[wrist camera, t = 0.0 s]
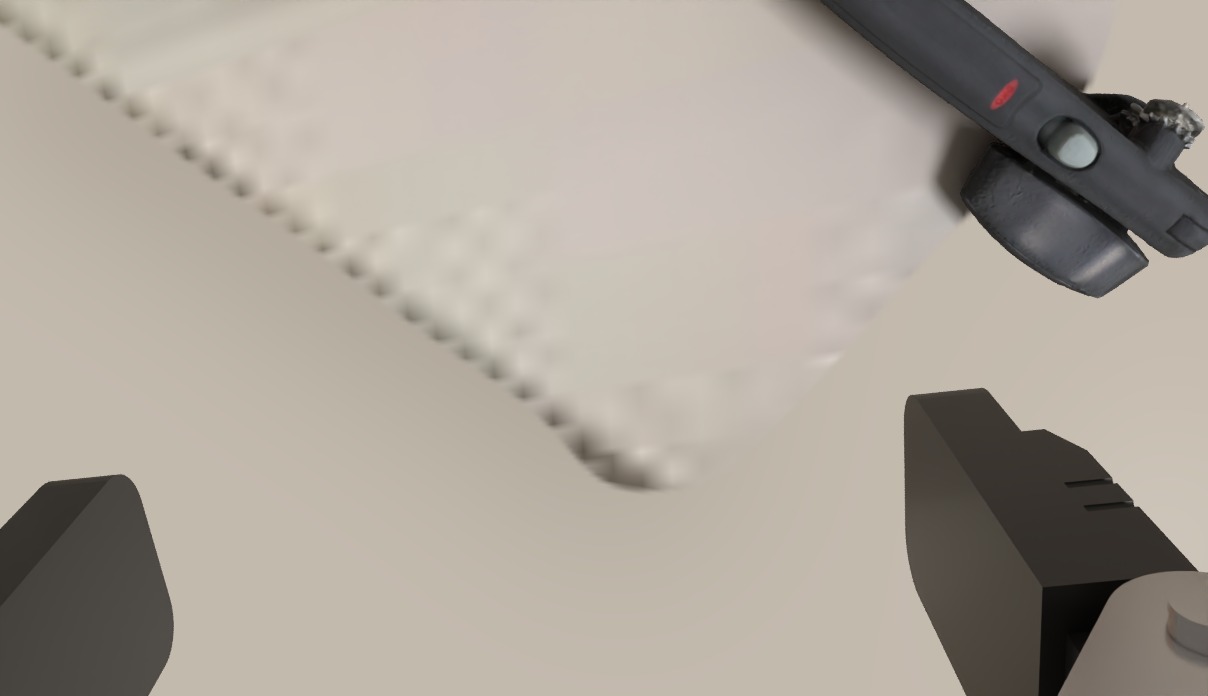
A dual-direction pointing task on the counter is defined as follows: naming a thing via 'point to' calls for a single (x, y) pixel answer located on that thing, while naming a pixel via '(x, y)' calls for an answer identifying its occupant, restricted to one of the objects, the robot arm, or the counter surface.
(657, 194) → the counter surface
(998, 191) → the can opener
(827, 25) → the counter surface
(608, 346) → the counter surface
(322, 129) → the counter surface
